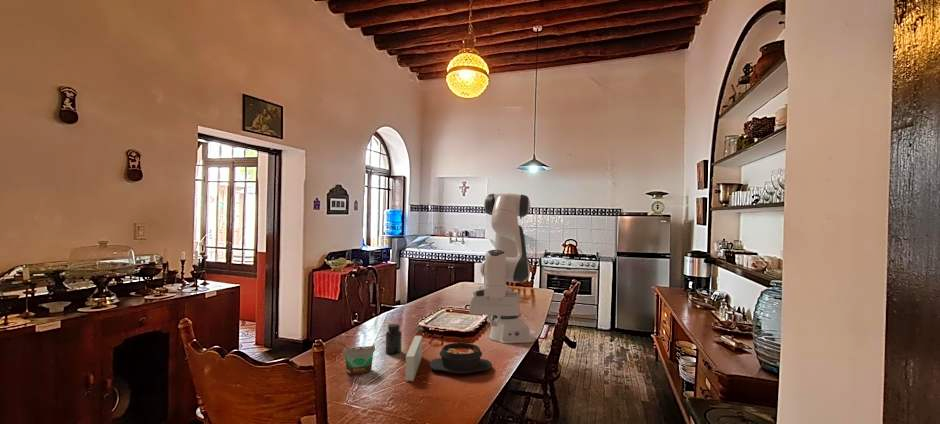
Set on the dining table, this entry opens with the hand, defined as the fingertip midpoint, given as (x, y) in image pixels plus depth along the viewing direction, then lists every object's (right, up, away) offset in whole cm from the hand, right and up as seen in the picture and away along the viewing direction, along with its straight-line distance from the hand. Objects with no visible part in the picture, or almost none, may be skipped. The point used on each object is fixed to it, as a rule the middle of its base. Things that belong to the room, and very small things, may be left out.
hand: (494, 326), depth 174 cm
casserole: (-13, -17, +1) cm, 22 cm away
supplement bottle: (-43, -17, +19) cm, 50 cm away
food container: (-51, -17, -6) cm, 54 cm away
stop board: (-32, -17, +1) cm, 36 cm away
